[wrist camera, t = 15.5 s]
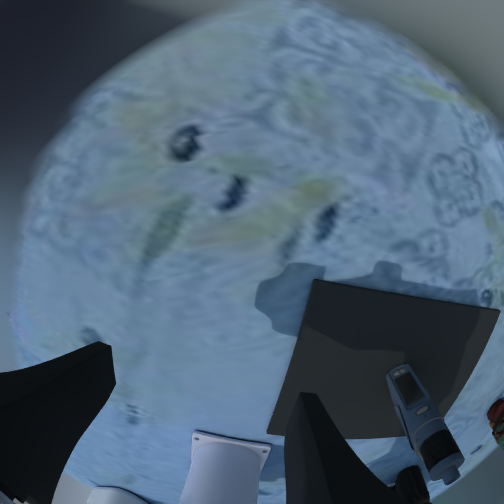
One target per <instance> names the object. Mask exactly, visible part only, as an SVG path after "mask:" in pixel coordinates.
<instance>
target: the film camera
mask: <svg viewBox="0 0 504 504" xmlns="http://www.w3.org/2000/svg"><path fill="white" fill-rule="evenodd" d="M395 484H396V486H395V487H394V488H391V490H393V491H394V492H395V493H397V494H398V495H399V496H401V497H402V498H404V499H405V500H407V501H408V502H410V503H411V504H432V503H430V502H429V501H430V496H429V492H428V490H427V487H426V484H425V481H424V479H423V476H422V473H421V469H420V468H419V467H418V466H411V467H409V468H407V469H404V470H403V471H401V472H400V473H399V474H398V478H397V480H396V482H395Z"/></svg>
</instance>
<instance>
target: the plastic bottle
mask: <svg viewBox="0 0 504 504" xmlns="http://www.w3.org/2000/svg"><path fill="white" fill-rule="evenodd" d="M86 504H149V503H147V502H146V501H144V500H142V499H141V498H139V497H137V496H136V495H134V494H132V493H130V492H128V491H125V490H123V489H119V488H113V487H94V488H93V489H92V492H91V494H90V496H89V498H88V501H87V503H86Z"/></svg>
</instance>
